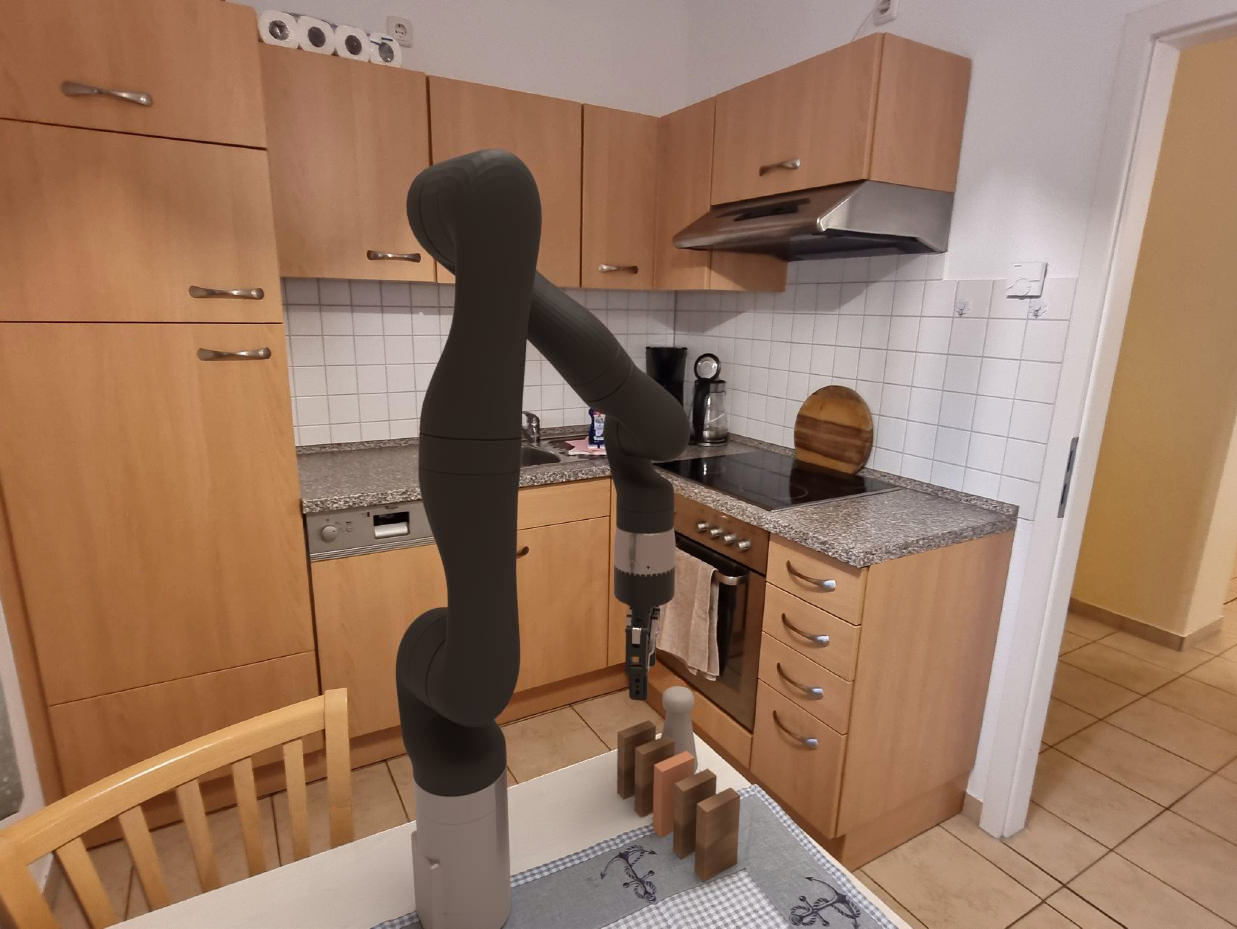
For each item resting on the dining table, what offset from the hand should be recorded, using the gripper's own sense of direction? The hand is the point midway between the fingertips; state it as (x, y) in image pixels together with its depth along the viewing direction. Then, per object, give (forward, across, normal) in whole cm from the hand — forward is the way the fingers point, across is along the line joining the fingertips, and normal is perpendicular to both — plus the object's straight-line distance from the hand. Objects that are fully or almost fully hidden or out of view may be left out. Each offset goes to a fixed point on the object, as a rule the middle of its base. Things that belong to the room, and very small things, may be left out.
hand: (643, 680), depth 88 cm
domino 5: (+16, -11, -10) cm, 22 cm away
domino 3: (+16, -5, -5) cm, 18 cm away
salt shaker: (+16, +4, -4) cm, 17 cm away
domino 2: (+16, -2, -2) cm, 17 cm away
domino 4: (+16, -8, -7) cm, 20 cm away
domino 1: (+16, 0, +1) cm, 16 cm away
